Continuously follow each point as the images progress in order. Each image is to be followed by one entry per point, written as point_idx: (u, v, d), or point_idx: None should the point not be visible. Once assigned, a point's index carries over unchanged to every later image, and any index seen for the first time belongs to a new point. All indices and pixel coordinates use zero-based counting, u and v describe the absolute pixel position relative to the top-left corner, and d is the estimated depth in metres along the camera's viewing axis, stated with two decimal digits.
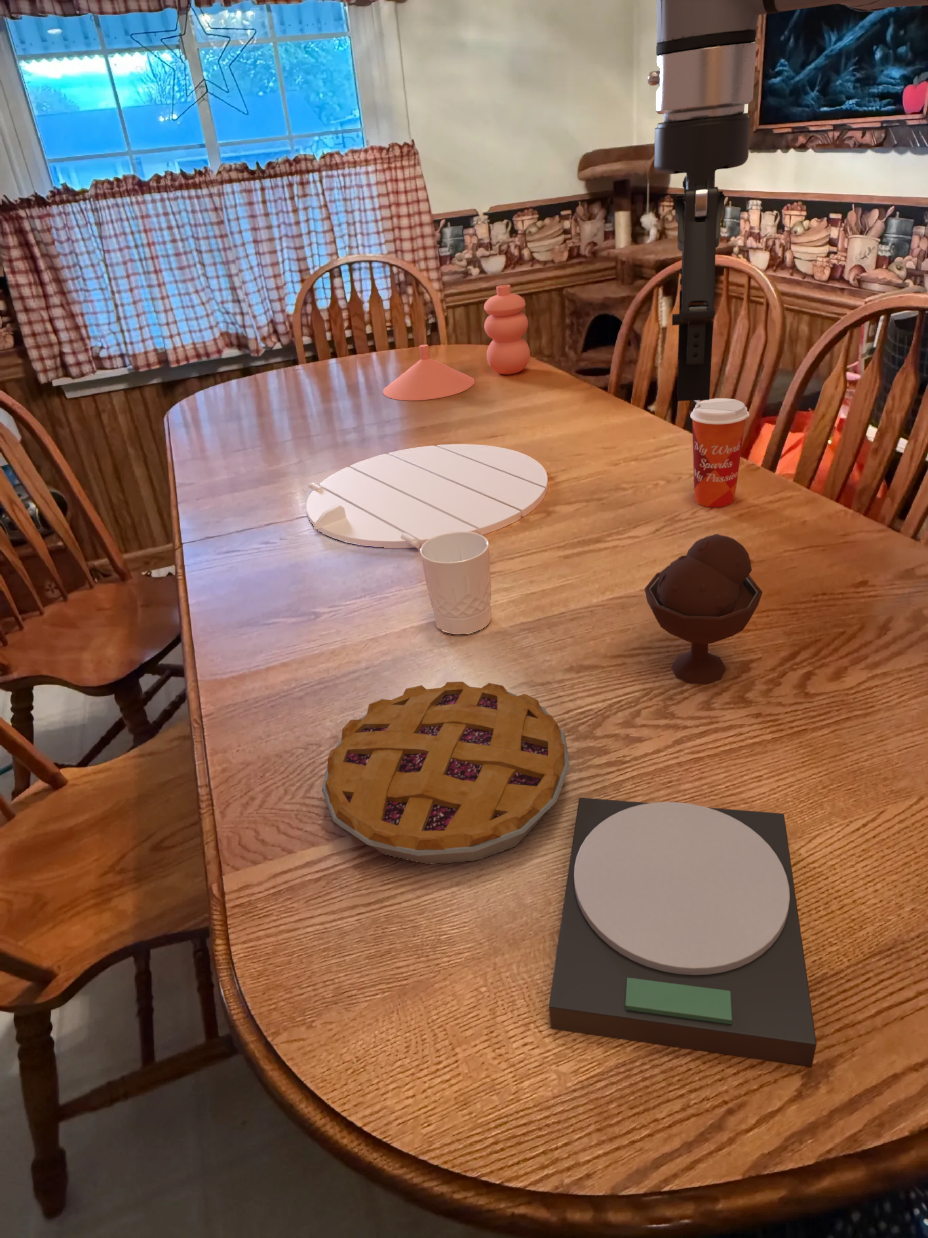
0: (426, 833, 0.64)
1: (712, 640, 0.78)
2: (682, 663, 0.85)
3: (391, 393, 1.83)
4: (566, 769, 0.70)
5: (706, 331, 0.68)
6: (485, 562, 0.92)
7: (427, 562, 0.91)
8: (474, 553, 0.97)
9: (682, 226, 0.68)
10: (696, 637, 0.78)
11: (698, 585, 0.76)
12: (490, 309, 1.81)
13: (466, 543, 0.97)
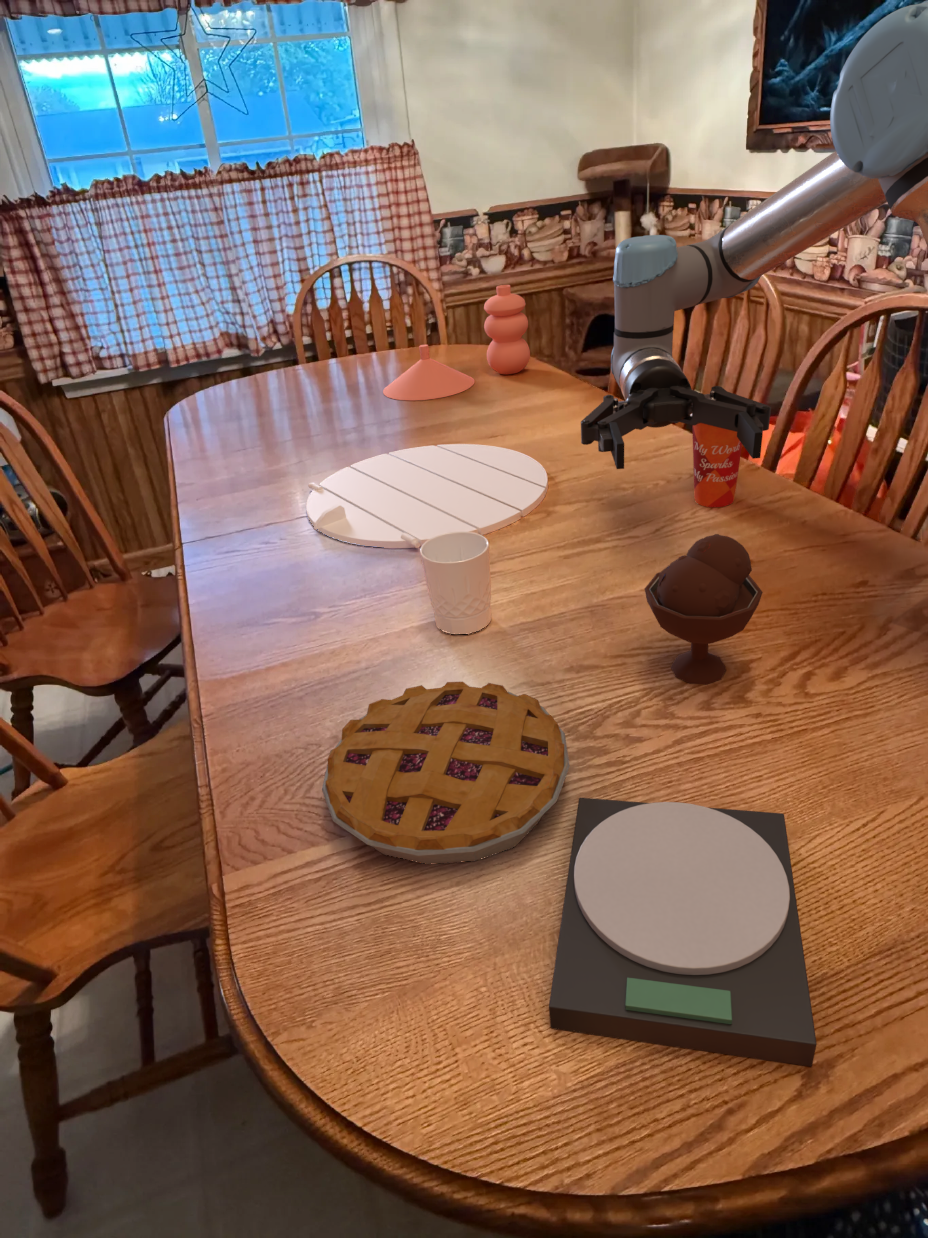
0: (426, 833, 0.64)
1: (712, 640, 0.78)
2: (682, 663, 0.85)
3: (391, 393, 1.83)
4: (566, 769, 0.70)
5: (610, 429, 0.88)
6: (485, 562, 0.92)
7: (427, 562, 0.91)
8: (474, 553, 0.97)
9: None
10: (696, 637, 0.78)
11: (698, 585, 0.76)
12: (490, 309, 1.81)
13: (466, 543, 0.97)
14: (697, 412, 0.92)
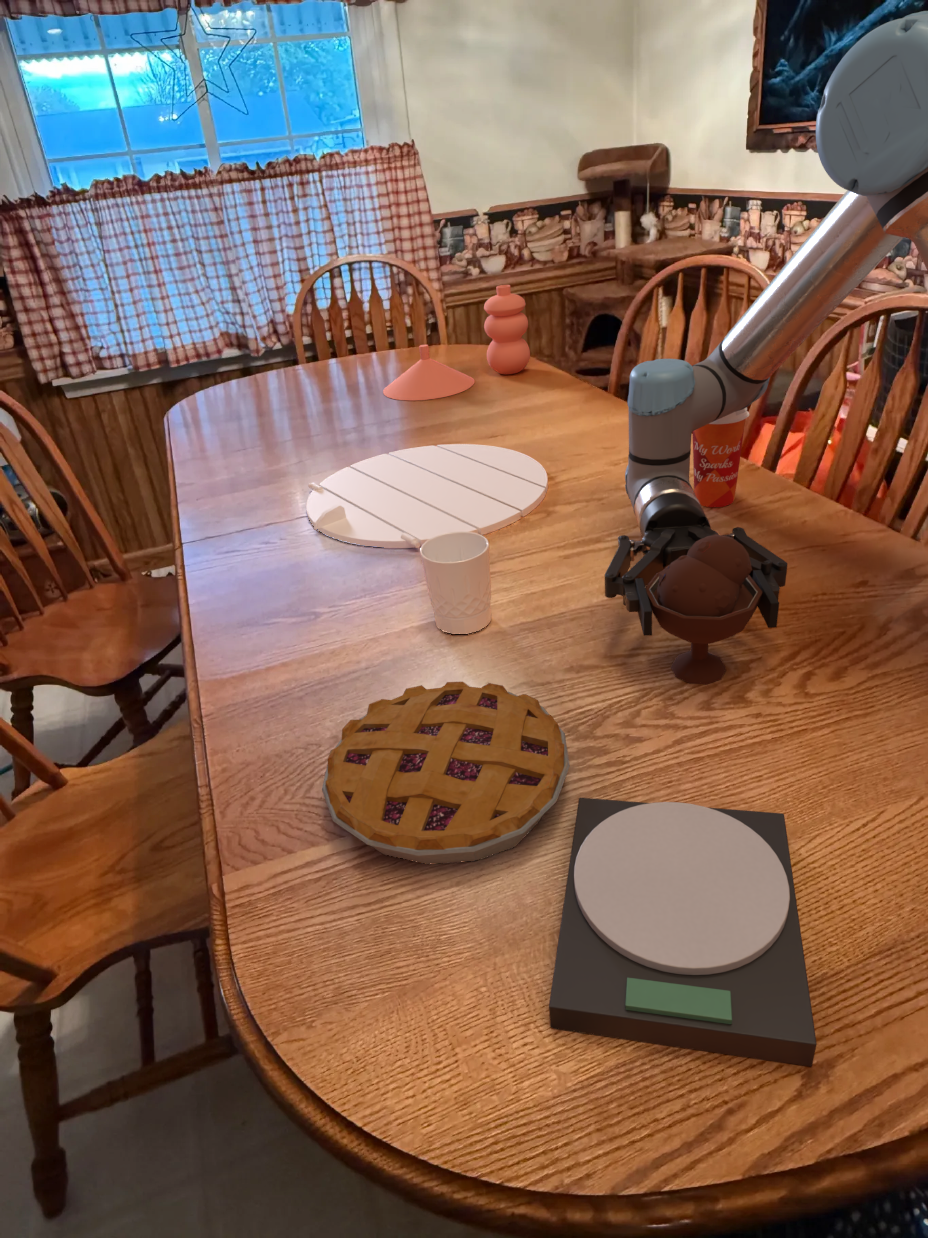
0: (426, 833, 0.64)
1: (712, 640, 0.78)
2: (682, 663, 0.85)
3: (391, 393, 1.83)
4: (566, 769, 0.70)
5: (635, 586, 0.83)
6: (485, 562, 0.92)
7: (427, 562, 0.91)
8: (474, 553, 0.97)
9: None
10: (696, 637, 0.78)
11: (698, 585, 0.76)
12: (490, 309, 1.81)
13: (466, 543, 0.97)
14: None
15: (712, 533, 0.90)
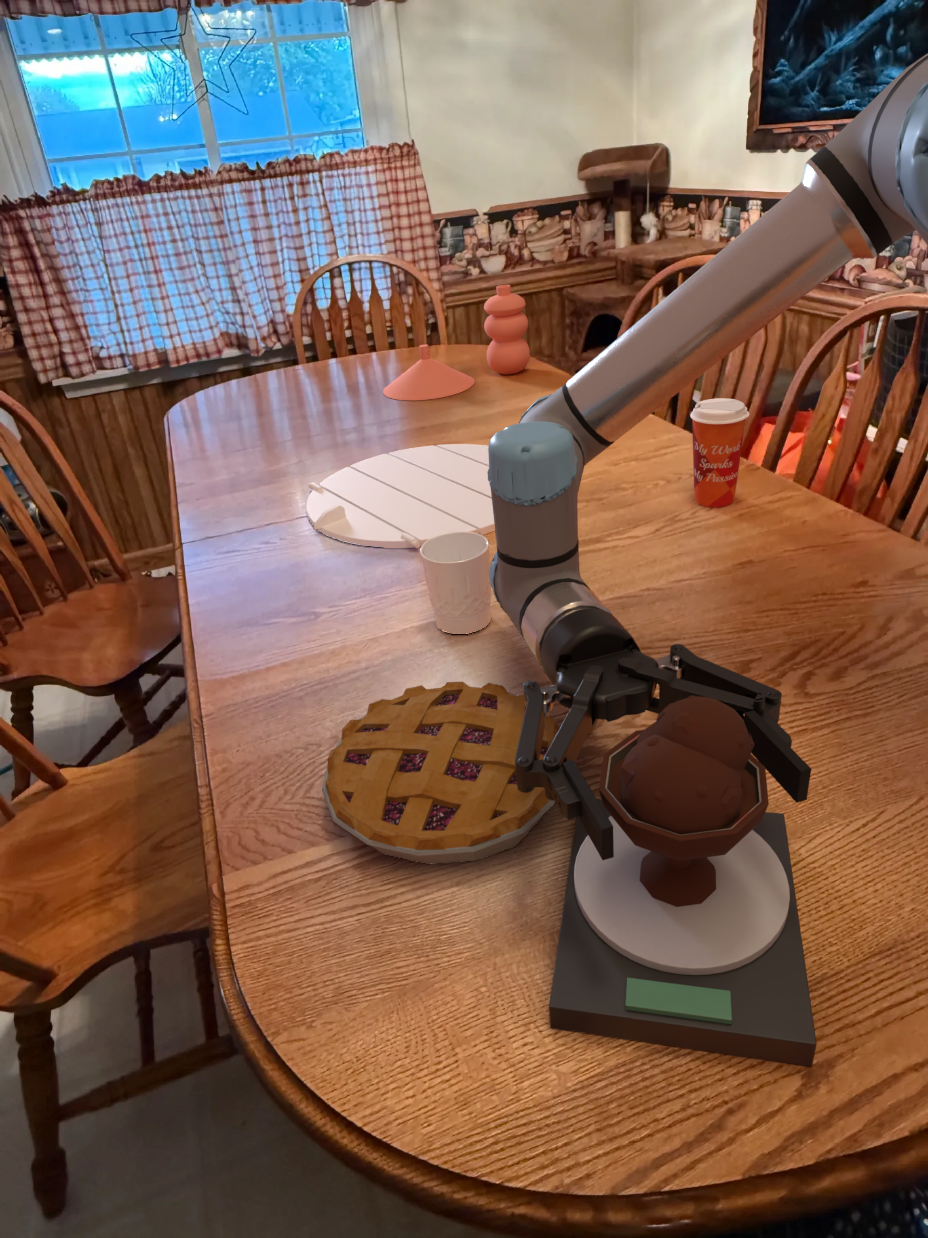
0: (426, 833, 0.64)
1: None
2: (658, 876, 0.58)
3: (391, 393, 1.83)
4: None
5: (566, 775, 0.55)
6: (485, 562, 0.92)
7: (427, 562, 0.91)
8: (474, 553, 0.97)
9: None
10: (695, 858, 0.52)
11: (695, 789, 0.50)
12: (490, 309, 1.81)
13: (466, 543, 0.97)
14: (668, 700, 0.62)
15: (649, 662, 0.64)
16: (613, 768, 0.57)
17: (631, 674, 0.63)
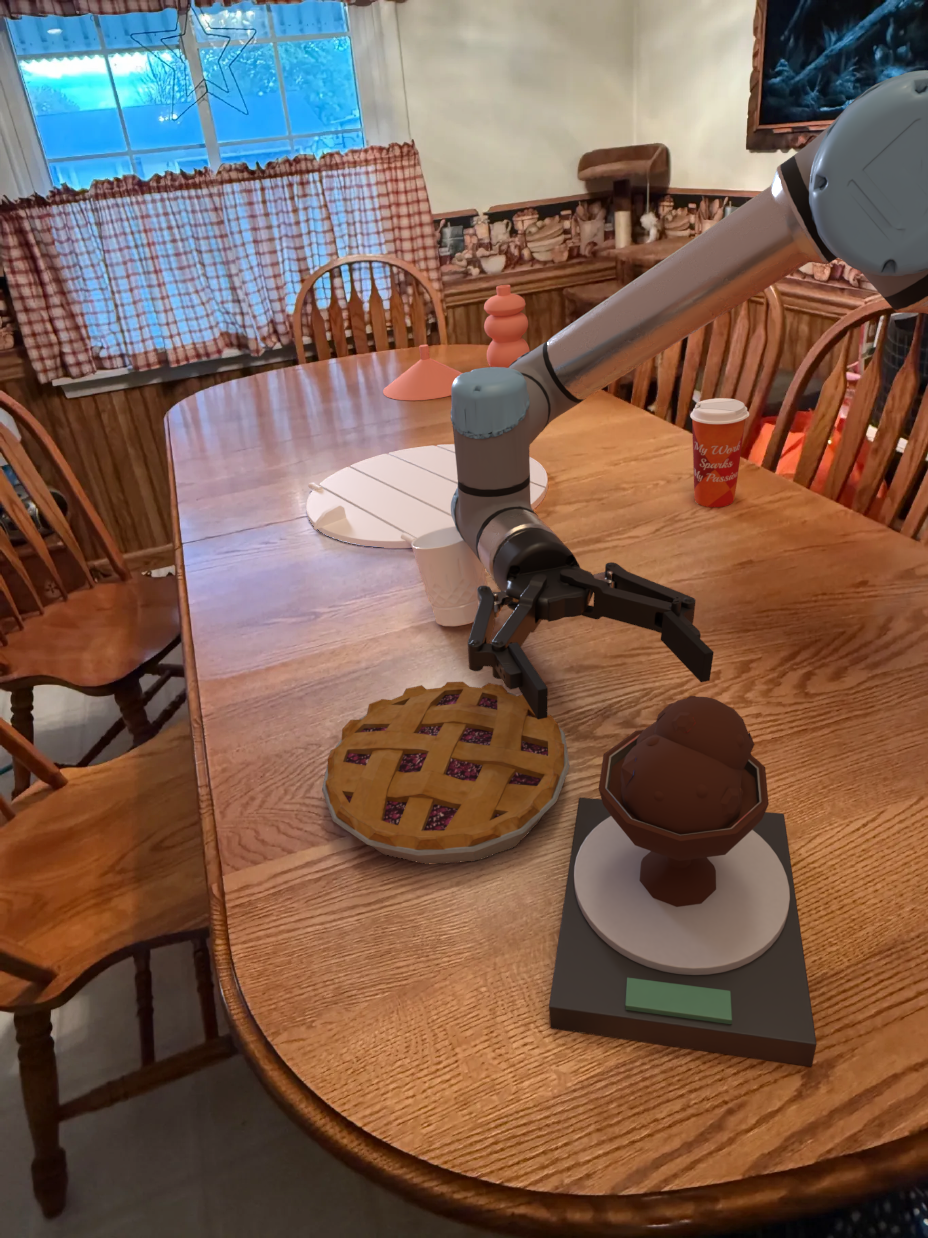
0: (426, 833, 0.64)
1: None
2: (658, 876, 0.58)
3: (391, 393, 1.83)
4: (566, 769, 0.70)
5: (511, 654, 0.64)
6: None
7: (419, 551, 0.93)
8: None
9: None
10: (695, 858, 0.52)
11: (695, 789, 0.50)
12: (490, 309, 1.81)
13: (456, 537, 0.98)
14: (601, 605, 0.72)
15: (586, 574, 0.74)
16: (613, 768, 0.57)
17: (570, 583, 0.73)
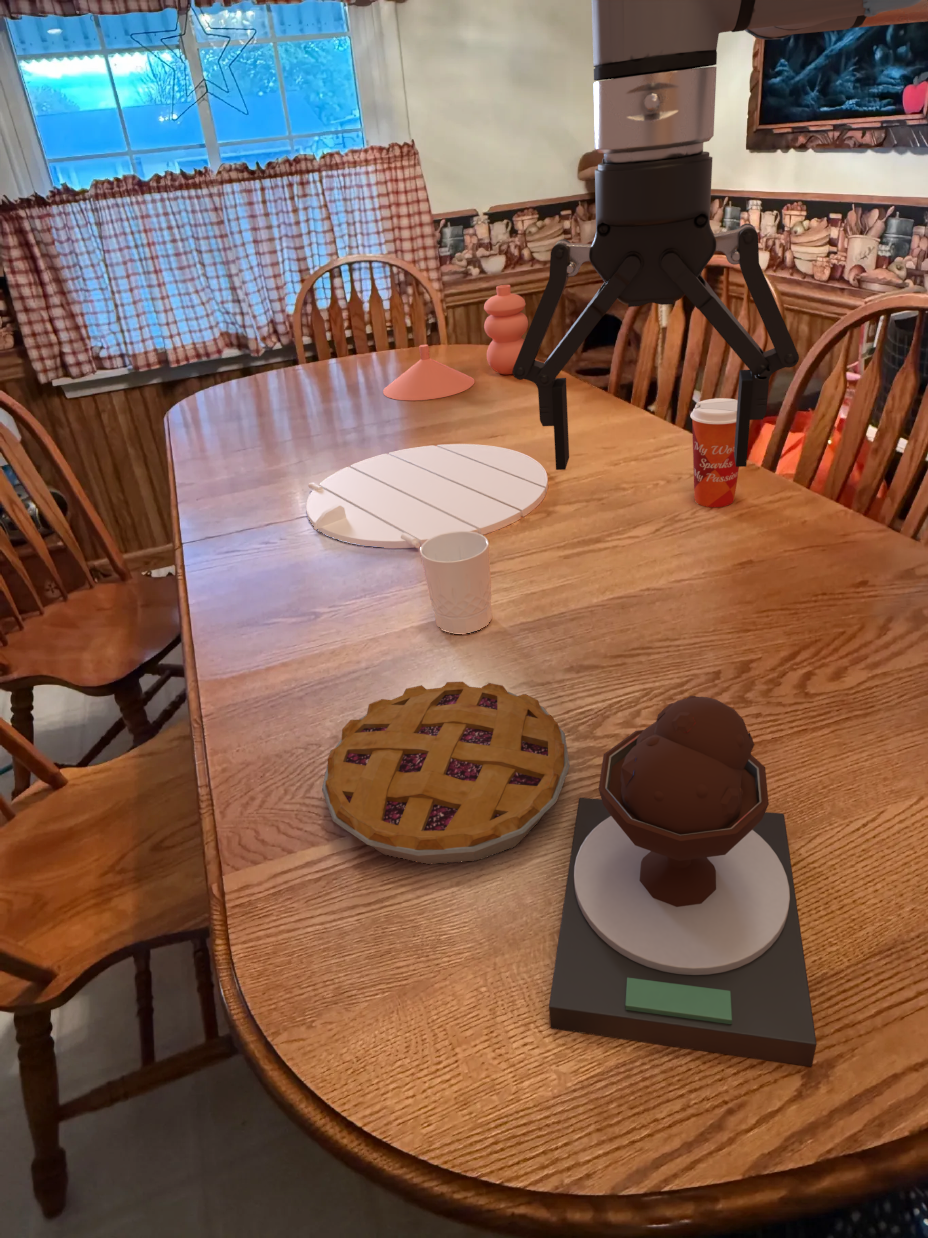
0: (426, 833, 0.64)
1: None
2: (658, 876, 0.58)
3: (391, 393, 1.83)
4: (566, 769, 0.70)
5: None
6: (485, 561, 0.92)
7: (427, 562, 0.92)
8: (473, 552, 0.97)
9: (699, 280, 0.56)
10: (695, 858, 0.52)
11: (695, 789, 0.50)
12: (490, 309, 1.81)
13: (465, 542, 0.97)
14: None
15: None
16: (613, 768, 0.57)
17: None
